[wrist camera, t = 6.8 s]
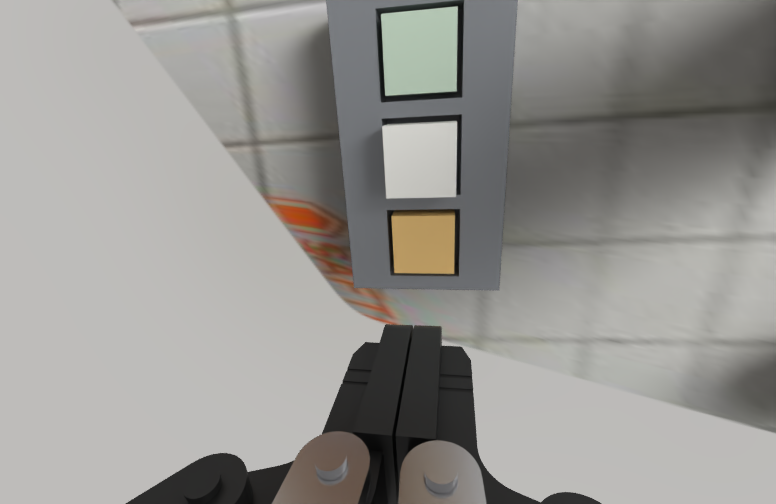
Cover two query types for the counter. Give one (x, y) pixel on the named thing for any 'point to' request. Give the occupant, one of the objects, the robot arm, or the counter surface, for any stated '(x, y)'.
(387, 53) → the sage green key
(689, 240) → the counter surface
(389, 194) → the off-white key
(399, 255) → the amber key
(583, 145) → the counter surface
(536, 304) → the counter surface
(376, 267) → the keypad
